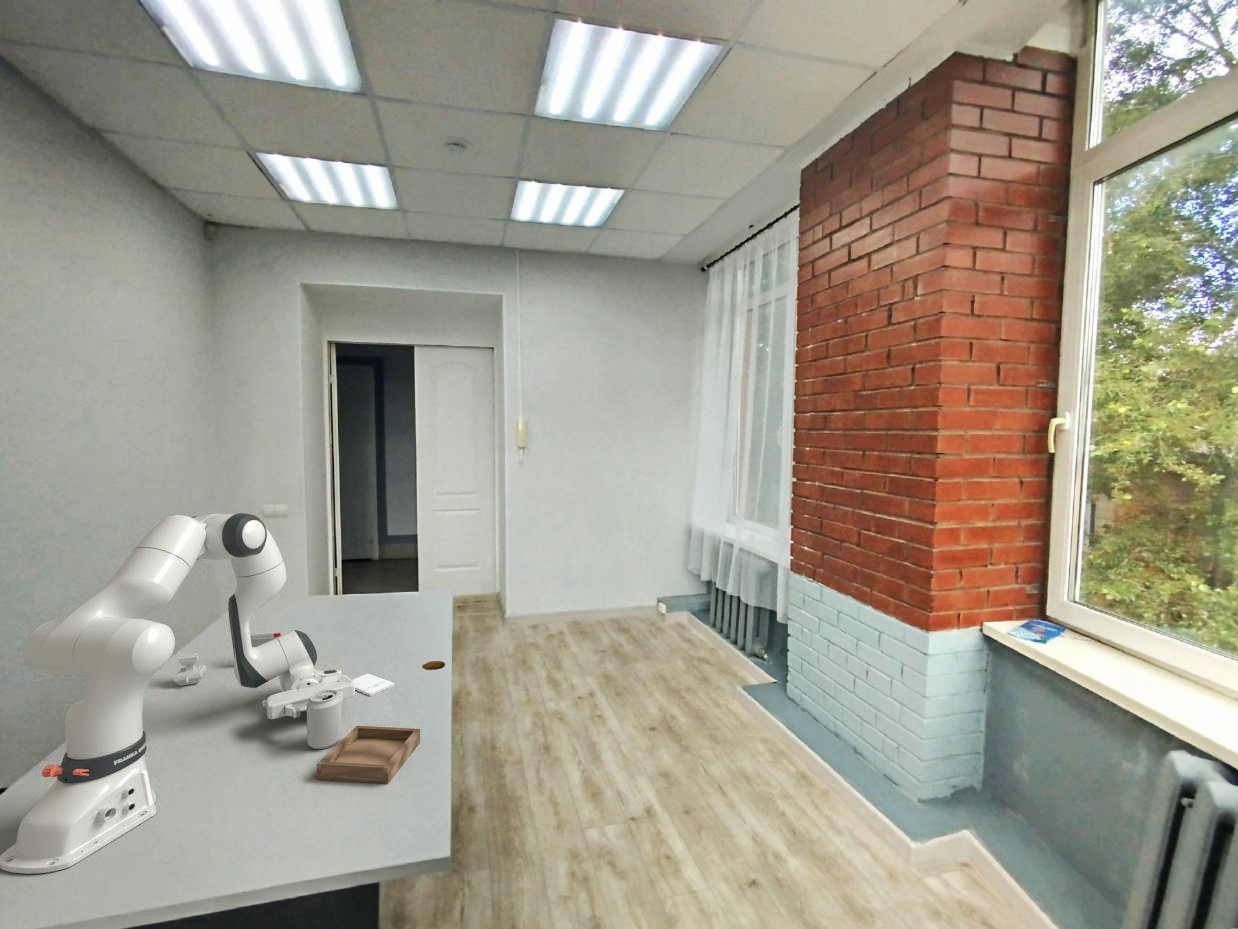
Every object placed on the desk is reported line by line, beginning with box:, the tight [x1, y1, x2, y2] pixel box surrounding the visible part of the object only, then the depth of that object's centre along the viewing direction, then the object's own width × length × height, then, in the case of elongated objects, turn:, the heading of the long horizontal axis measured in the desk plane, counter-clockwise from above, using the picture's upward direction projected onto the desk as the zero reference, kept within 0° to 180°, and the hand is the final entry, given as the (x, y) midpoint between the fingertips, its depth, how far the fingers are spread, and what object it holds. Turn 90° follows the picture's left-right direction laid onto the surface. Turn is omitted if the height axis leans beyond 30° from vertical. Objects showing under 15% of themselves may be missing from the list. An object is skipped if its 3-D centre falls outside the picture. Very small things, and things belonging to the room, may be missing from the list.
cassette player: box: [250, 632, 283, 647], centre depth 182 cm, size 16×3×10 cm, turn 104°
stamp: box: [173, 652, 208, 687], centre depth 168 cm, size 9×7×8 cm
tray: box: [316, 725, 421, 785], centre depth 129 cm, size 16×16×4 cm
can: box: [306, 690, 343, 750], centre depth 136 cm, size 8×8×12 cm
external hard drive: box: [351, 673, 396, 697], centre depth 167 cm, size 2×8×12 cm
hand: (318, 708), depth 140 cm, fingers open, 8 cm apart
